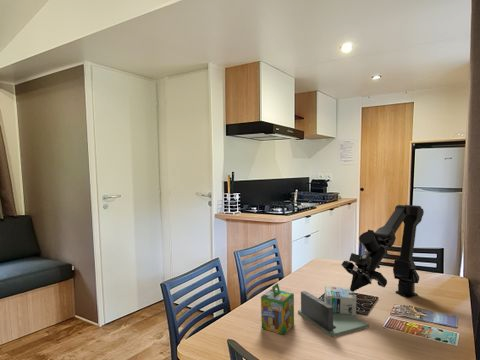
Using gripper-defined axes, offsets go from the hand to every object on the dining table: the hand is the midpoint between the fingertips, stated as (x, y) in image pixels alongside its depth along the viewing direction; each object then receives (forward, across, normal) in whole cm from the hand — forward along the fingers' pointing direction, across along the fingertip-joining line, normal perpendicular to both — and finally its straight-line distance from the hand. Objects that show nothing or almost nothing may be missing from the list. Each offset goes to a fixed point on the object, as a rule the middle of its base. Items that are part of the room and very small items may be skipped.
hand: (351, 290), depth 122 cm
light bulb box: (+1, -2, +6) cm, 6 cm away
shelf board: (+13, 0, 0) cm, 13 cm away
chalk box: (+28, -4, -14) cm, 32 cm away
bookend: (+17, 0, -5) cm, 17 cm away
